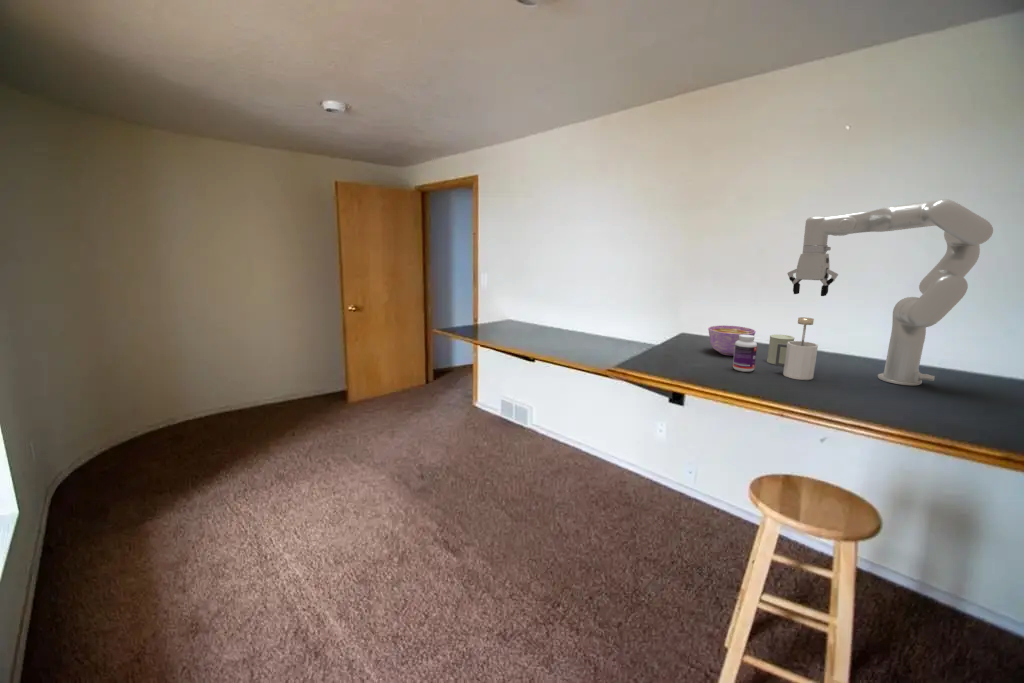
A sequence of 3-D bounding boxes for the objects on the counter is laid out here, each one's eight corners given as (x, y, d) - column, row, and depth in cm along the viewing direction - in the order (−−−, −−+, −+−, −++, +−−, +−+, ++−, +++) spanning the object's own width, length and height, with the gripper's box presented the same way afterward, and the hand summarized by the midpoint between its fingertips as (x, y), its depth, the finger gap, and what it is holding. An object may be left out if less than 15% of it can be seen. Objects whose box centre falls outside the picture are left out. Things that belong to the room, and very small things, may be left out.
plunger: (813, 352, 174) (818, 318, 171) (811, 356, 169) (816, 320, 166) (791, 350, 178) (796, 316, 175) (789, 353, 173) (793, 318, 170)
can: (795, 365, 190) (799, 337, 188) (773, 365, 190) (777, 338, 188) (783, 359, 199) (786, 333, 197) (762, 359, 199) (765, 333, 197)
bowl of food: (697, 349, 218) (699, 326, 216) (734, 347, 222) (736, 324, 219) (723, 360, 199) (725, 334, 197) (763, 357, 203) (766, 332, 200)
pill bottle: (755, 373, 180) (760, 338, 176) (733, 371, 182) (737, 337, 179) (752, 367, 187) (756, 334, 184) (731, 366, 190) (734, 333, 186)
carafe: (814, 375, 176) (819, 343, 174) (811, 381, 169) (816, 348, 166) (776, 369, 184) (780, 338, 181) (772, 375, 177) (776, 343, 174)
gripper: (845, 249, 165) (839, 295, 169) (795, 249, 179) (790, 292, 183) (835, 250, 161) (830, 297, 165) (785, 250, 175) (781, 294, 179)
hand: (809, 294), depth 174 cm, fingers open, 9 cm apart
